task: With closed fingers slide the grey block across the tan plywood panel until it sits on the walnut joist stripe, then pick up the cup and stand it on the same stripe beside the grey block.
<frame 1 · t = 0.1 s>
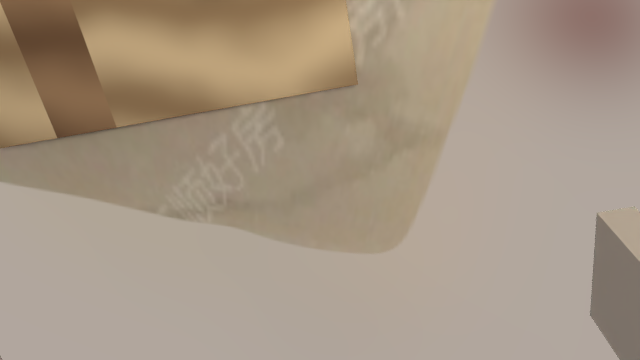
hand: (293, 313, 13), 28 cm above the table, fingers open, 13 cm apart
panel: (147, 5, 36), on the table
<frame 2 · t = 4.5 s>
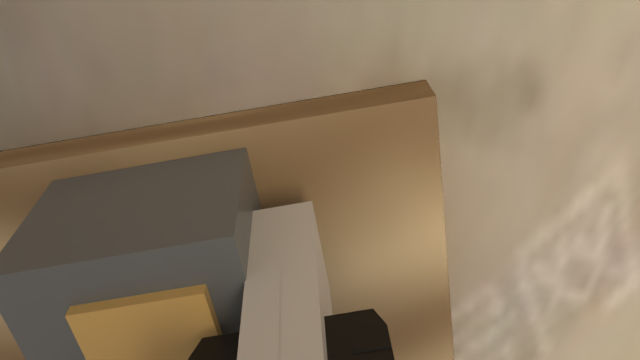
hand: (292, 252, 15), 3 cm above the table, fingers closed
panel: (73, 346, 19), on the table
grey block: (176, 244, 16), point 1 cm above the table, touching gripper
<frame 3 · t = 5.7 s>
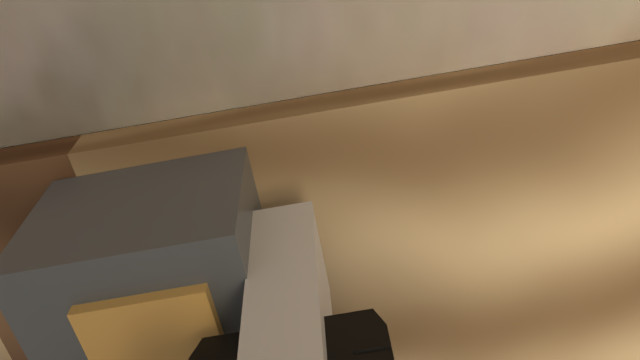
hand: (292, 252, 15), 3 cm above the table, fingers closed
panel: (279, 311, 19), on the table
grey block: (176, 244, 16), point 1 cm above the table, touching gripper
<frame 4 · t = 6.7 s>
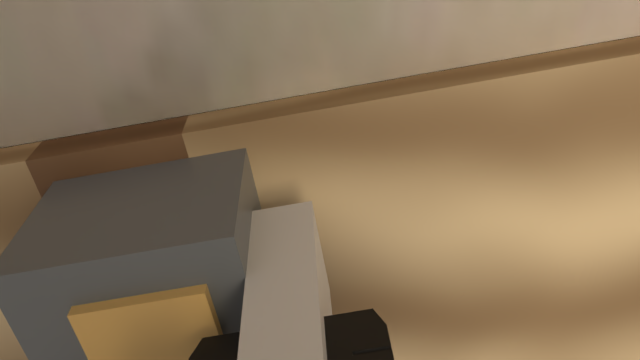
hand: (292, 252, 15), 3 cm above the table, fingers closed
panel: (370, 294, 19), on the table
grey block: (176, 244, 16), point 1 cm above the table, touching gripper, panel
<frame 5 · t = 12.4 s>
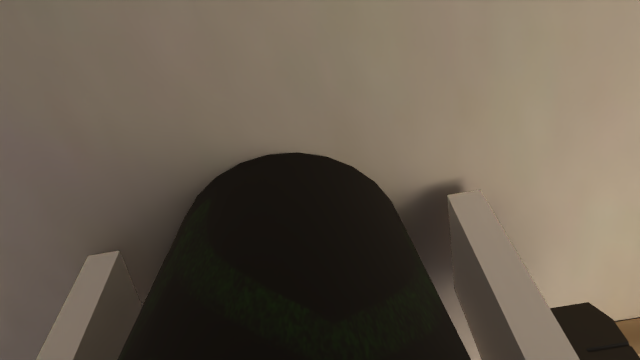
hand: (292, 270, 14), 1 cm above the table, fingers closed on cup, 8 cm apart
cup: (292, 248, 15), on the table, touching gripper
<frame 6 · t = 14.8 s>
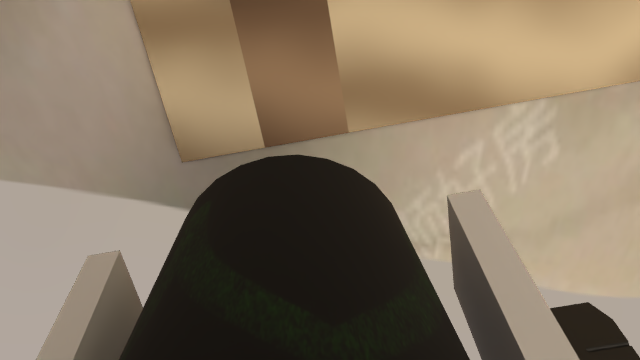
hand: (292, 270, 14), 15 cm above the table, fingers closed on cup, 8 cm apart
cup: (292, 250, 15), point 14 cm above the table, touching gripper
when the fingers open (4 cm above the table, at t = 17.3 s): cup drops 2 cm, resting on panel.
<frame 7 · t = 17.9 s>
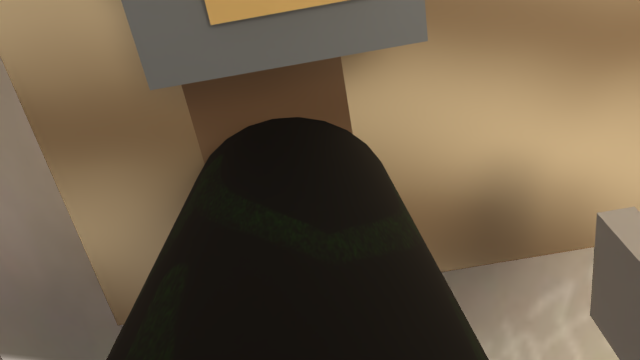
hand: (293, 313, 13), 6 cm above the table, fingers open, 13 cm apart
cup: (293, 205, 17), point 1 cm above the table, touching panel
panel: (488, 19, 16), on the table
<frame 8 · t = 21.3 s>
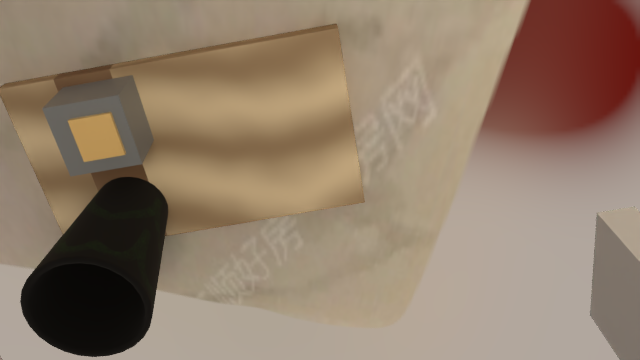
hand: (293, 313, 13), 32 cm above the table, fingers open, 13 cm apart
cup: (132, 206, 47), point 1 cm above the table, touching panel
panel: (195, 142, 45), on the table
grey block: (109, 114, 43), point 1 cm above the table, touching panel
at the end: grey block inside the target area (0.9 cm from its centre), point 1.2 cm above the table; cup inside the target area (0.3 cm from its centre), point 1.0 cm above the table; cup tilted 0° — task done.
